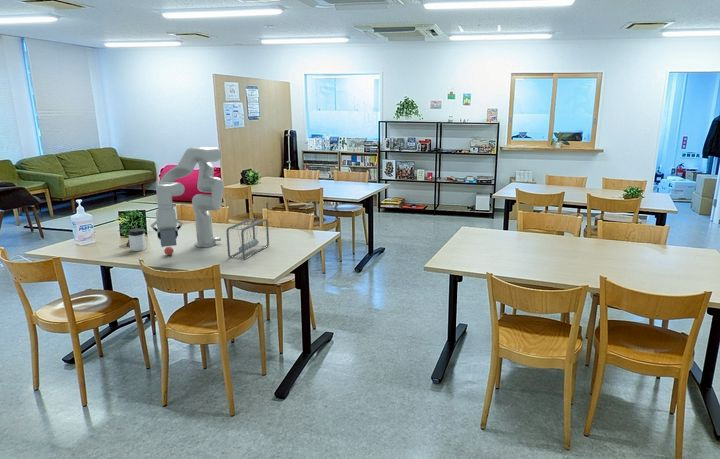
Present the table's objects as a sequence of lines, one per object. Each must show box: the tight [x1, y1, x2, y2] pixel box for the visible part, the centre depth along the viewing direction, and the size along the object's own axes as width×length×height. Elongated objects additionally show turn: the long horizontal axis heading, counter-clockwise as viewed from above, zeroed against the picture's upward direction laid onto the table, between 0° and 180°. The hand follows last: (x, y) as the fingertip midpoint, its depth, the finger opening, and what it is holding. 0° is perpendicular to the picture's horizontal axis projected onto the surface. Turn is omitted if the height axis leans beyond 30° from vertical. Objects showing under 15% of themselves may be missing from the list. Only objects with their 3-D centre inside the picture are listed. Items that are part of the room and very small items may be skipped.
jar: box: [128, 227, 147, 252], centre depth 297 cm, size 9×8×12 cm
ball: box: [163, 246, 174, 256], centre depth 286 cm, size 5×5×5 cm
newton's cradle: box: [226, 217, 270, 260], centre depth 291 cm, size 30×10×18 cm, turn 163°
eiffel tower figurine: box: [119, 226, 131, 250], centre depth 306 cm, size 15×10×13 cm
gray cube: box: [159, 227, 178, 248], centre depth 273 cm, size 8×8×9 cm
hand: (168, 238), depth 274 cm, fingers closed on gray cube, 7 cm apart
